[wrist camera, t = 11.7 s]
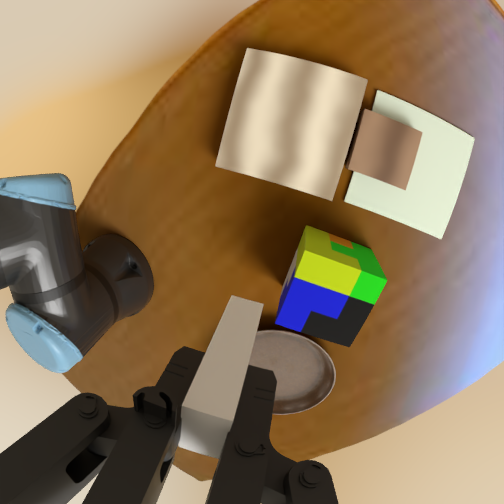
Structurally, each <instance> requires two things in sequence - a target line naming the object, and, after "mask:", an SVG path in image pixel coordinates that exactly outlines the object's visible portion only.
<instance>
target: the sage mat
mask: <svg viewBox="0 0 504 504" xmlns="http://www.w3.org/2000/svg"><path fill="white" fill-rule="evenodd" d="M372 111H373V112H376V113H378V114H381V115H383V116H386V117H388V118H391V119H393V120H396V121H398V122H401V123H403V124H405V125H407V126H410V127H412V128H414V129H416V130H419V131H421V132H423V133H422V137H421V141H420V144H419V148H418V152H417V155H416V159H415V162H414V165H413V169H412V172H411V175H410V178H409V181H408V185H407V188H406V191H405V190H403V189H400V188H398V187H395V186H393V185H390V184H388V183H385V182H382V181H380V180H377V179H374V178H372V177H369V176H366V175H363V174H361V173H358V172H355V171H354V172H353V175H352V178H351V181H350V184H349V187H348V190H347V193H346V196H345V199H344V202H347V203H350V204H353V205H356V206H358V207H361V208H364V209H367V210H369V211H372V212H375V213H377V214H380V215H383V216H385V217H388V218H391V219H393V220H396V221H398V222H401V223H403V224H406V225H408V226H411V227H413V228H416V229H418V230H421V231H423V232H425V233H428V234H430V235H432V236H435V237H437V238H439V239H442V237H443V234H444V232H445V229H446V227H447V224H448V222H449V219H450V216H451V214H452V211H453V208H454V206H455V203H456V200H457V197H458V194H459V191H460V188H461V185H462V182H463V179H464V176H465V172H466V169H467V165H468V162H469V158H470V155H471V151H472V147H473V143H474V139H475V138H473V137H472V136H470V135H468V134H467V133H465V132H463V131H462V130H460V129H458V128H456V127H455V126H453V125H451V124H449V123H447V122H446V121H444V120H442V119H440V118H438V117H436V116H434V115H432V114H430V113H428V112H426V111H424V110H422V109H420V108H418V107H416V106H414V105H412V104H409V103H407V102H405V101H403V100H401V99H398V98H396V97H394V96H391V95H389V94H386V93H384V92H381V91H379V90H377V92H376V96H375V100H374V104H373V107H372Z"/></svg>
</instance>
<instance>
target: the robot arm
mask: <svg viewBox="0 0 504 504" xmlns="http://www.w3.org/2000/svg"><path fill="white" fill-rule="evenodd" d="M75 210H76V206H75V205H74V200H73V194H72V187H71V182H70V180H69V179H68V177H67V176H65V175H64V174H59V173H54V174H39V175H28V176H16V177H7V178H0V289H3V288H5V287H8V286H9V288H10V291H11V294H12V297H13V300H14V303H11V304H10V305H9V306H8V308H7V310H6V321H7V324H8V327H9V329H10V331H11V333H12V335H13V336H14V338H15V339H16V341H17V342H18V343H19V345H20V346H21V347H22V348H23V350H24V351H25V352H26V353H27V354H28V355H29V356H30V357H31V358H32V359H33V360H34V361H36V362H37V363H38V364H40V365H41V366H43V367H44V368H46V369H48V370H50V371H52V372H56V373H63V372H66V371H68V370H69V369H70V368H72V367H73V366H74V365H75V364H76V363H77V362H78V361H81V359H82V358H83V357H84V356H85V355H86V353H87V352H88V351H89V350H90V349H91V348H92V347H93V346H94V345H95V343H96V342H97V341H98V340H99V339H100V338H101V337H102V336H103V335H104V334H105V333H106V332H107V330H108V329H109V328H110V327H111V326H112V325H113V324H114V323H115V322H117V321H119V320H121V319H123V318H125V317H129V316H132V315H135V314H137V313H138V312H140V311H141V310H142V309H143V308H144V307H145V306H146V305H147V304H148V302H149V301H150V299H151V297H152V294H153V289H154V282H153V275H152V271H151V269H150V266H149V264H148V262H147V260H146V258H145V257H144V255H143V254H142V252H141V251H140V250H139V249H138V248H137V247H136V246H135V245H134V244H133V243H132V242H130V241H129V240H127V239H126V238H124V237H121V236H119V235H115V234H105V235H102V236H100V237H98V238H96V239H94V240H92V241H91V242H90V243H89V244H88V245H87V246H86V247H85V248H84V250H83V252H82V250H81V245H80V239H79V233H78V227H77V220H76V212H75ZM263 305H264V304H261V303H258V302H254V301H250V300H247V299H243V298H240V297H236V296H231V298H230V300H229V302H228V304H227V307H226V309H225V311H224V313H223V315H222V318H221V320H220V322H219V324H218V326H217V329H216V331H215V333H214V335H213V338H212V340H211V342H210V344H209V346H208V349H207V351H206V353H204V352H201V351H198V350H195V349H192V348H188V347H185V346H184V347H182V348H181V349H179V350H178V351H176V352H175V353H174V354H173V356H172V358H171V360H170V361H169V364H168V365H167V367H166V368H165V371H164V372H163V373H162V375H161V377H160V379H159V380H158V382H157V384H156V386H151V387H144V388H142V389H139V390H137V391H136V392H135V393H134V394H133V401H134V407H132V408H123V407H116V406H110V405H107V403H106V402H105V401H104V400H103V398H102V397H100V396H98V395H96V394H93V393H81V394H79V395H77V396H75V397H73V398H72V399H71V400H69V401H68V402H67V403H66V404H65V405H63V406H62V407H60V408H59V409H58V410H57V411H55V412H54V413H53V414H51V415H50V416H49V417H47V418H46V419H45V420H44V421H42V422H41V423H40V424H38V425H37V426H36V427H34V428H33V429H32V430H30V431H29V432H28V433H27V434H26V435H24V436H23V437H21V438H20V439H19V440H17V441H16V442H15V443H14V444H12V445H11V446H10V447H8V448H7V449H6V450H4V451H3V452H2V453H0V504H67V503H68V502H69V501H70V500H71V499H72V498H73V497H74V496H75V495H76V494H77V493H78V492H79V491H81V489H83V488H84V487H85V486H86V485H87V484H88V483H89V482H90V481H91V480H92V479H93V478H94V477H95V476H96V475H97V474H98V473H99V474H98V476H97V478H96V480H95V481H94V483H93V485H92V487H91V489H90V490H89V493H88V494H87V496H86V498H85V499H84V501H83V503H82V504H156V502H157V500H158V497H159V495H160V493H161V490H162V488H163V485H164V483H165V480H166V478H167V476H168V473H169V471H170V468H171V466H172V463H173V461H174V455H175V451H176V448H177V446H178V444H179V447H182V448H185V449H188V450H191V451H194V452H197V453H200V454H204V455H207V456H210V457H214V458H217V459H219V461H218V465H217V468H216V471H215V473H214V476H213V479H212V483H211V487H210V490H209V493H208V496H207V500H206V503H205V504H260V503H262V504H338V500H337V496H336V492H335V489H334V485H333V481H332V477H331V474H330V472H329V470H328V469H327V468H326V467H325V466H324V465H323V464H321V463H319V462H317V461H312V460H305V461H300V462H298V463H297V462H295V461H293V460H291V459H289V458H287V457H285V456H283V455H281V454H280V453H278V452H277V451H276V450H275V449H274V448H273V446H272V444H271V442H270V439H269V432H270V426H271V420H272V413H273V406H274V400H275V392H276V386H277V380H276V377H275V374H274V372H273V371H272V370H268V369H264V368H260V367H256V366H252V365H248V364H249V360H250V356H251V352H252V348H253V344H254V341H255V337H256V333H257V329H258V325H259V321H260V317H261V313H262V309H263Z"/></svg>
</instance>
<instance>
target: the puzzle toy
mask: <svg viewBox="0 0 504 504" xmlns="http://www.w3.org/2000/svg"><path fill="white" fill-rule="evenodd" d="M386 282H387V279H386V277H385V275H384V273H383V271H382V269H381V267H380V265H379V263H378V261H377V259H376V257H375V255H374V253H373V251H372V250H371V249H369V248H367V247H364V246H361V245H359V244H356V243H354V242H351V241H348V240H346V239H343V238H340V237H338V236H335V235H332V234H330V233H327V232H324V231H321V230H319V229H316V228H313V227H310V226H308V225H306V227H305V229H304V232H303V235H302V237H301V240H300V243H299V245H298V248H297V251H296V253H295V256H294V258H293V261H292V264H291V266H290V269H289V271H288V274H287V276H286V279H285V281H284V284H283V287H282V292H281V297H280V302H279V307H278V311H277V316H276V321H275V324H277V325H280V326H283V327H286V328H289V329H292V330H295V331H299V332H302V333H305V334H308V335H311V336H314V337H317V338H321V339H324V340H327V341H330V342H334V343H337V344H340V345H344V346H347V347H350V346H351V344H352V342H353V341H354V339H355V337H356V336H357V334H358V332H359V331H360V329H361V327H362V326H363V324H364V322H365V320H366V319H367V317H368V315H369V313H370V312H371V310H372V308H373V306H374V304H375V303H376V301H377V299H378V297H379V295H380V293H381V291H382V290H383V288H384V286H385V284H386Z"/></svg>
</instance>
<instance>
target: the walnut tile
mask: <svg viewBox="0 0 504 504" xmlns="http://www.w3.org/2000/svg"><path fill="white" fill-rule="evenodd" d="M422 133H423V132H421V131H419V130H416V129H414V128H412V127H410V126H407V125H405V124H403V123H401V122H398V121H396V120H393V119H391V118H388V117H386V116H383V115H381V114H378V113H376V112H373V111H370V110H367V109H363V110H362V111H361V114H360V118H359V122H358V125H357V129H356V133H355V136H354V140H353V143H352V147H351V150H350V154H349V157H348V161H347V164H346V167H345V168H347V169H349V170H352V171H355V172H358V173H361V174H363V175H366V176H369V177H372V178H374V179H377V180H380V181H382V182H385V183H388V184H390V185H393V186H395V187H398V188H400V189H403V190H405V191H406V188H407V185H408V181H409V178H410V175H411V172H412V169H413V165H414V162H415V159H416V155H417V152H418V148H419V144H420V141H421V137H422Z"/></svg>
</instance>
